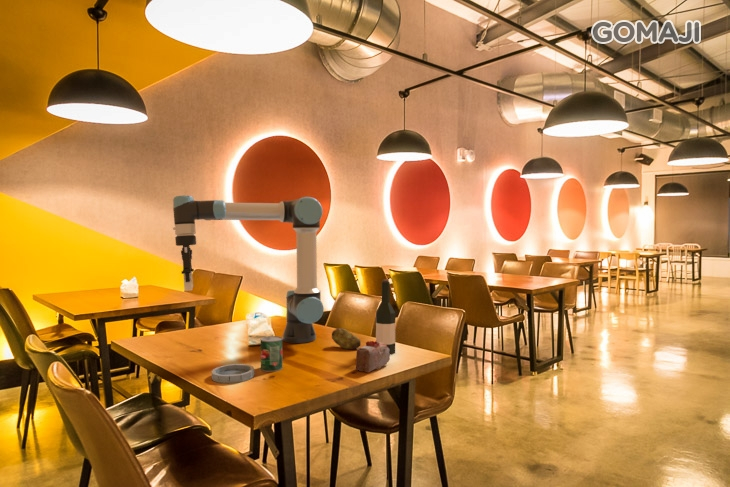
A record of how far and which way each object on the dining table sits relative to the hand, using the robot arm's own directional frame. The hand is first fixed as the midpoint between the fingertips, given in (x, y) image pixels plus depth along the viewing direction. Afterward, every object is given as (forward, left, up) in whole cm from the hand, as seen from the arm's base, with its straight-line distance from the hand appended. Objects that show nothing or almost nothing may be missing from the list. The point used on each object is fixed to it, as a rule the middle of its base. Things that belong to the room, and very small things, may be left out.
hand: (189, 289), depth 182 cm
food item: (-63, +38, -28) cm, 78 cm away
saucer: (-14, +31, -27) cm, 43 cm away
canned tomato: (-28, +26, -27) cm, 47 cm away
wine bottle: (-76, +20, -27) cm, 83 cm away
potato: (-63, +7, -27) cm, 69 cm away
